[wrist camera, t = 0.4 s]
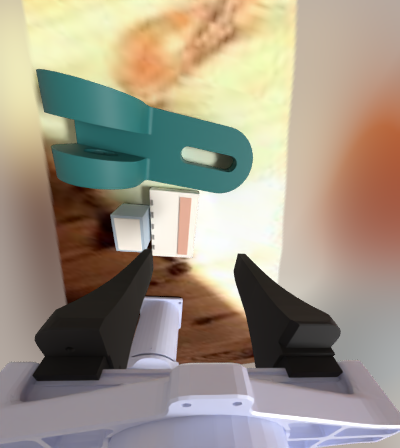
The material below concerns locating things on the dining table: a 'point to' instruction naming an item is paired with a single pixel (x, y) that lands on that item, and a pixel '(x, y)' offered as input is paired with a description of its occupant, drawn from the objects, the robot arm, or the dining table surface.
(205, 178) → the bracket
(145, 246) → the stub
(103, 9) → the dining table surface
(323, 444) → the robot arm
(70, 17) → the dining table surface
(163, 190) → the spiral notebook
